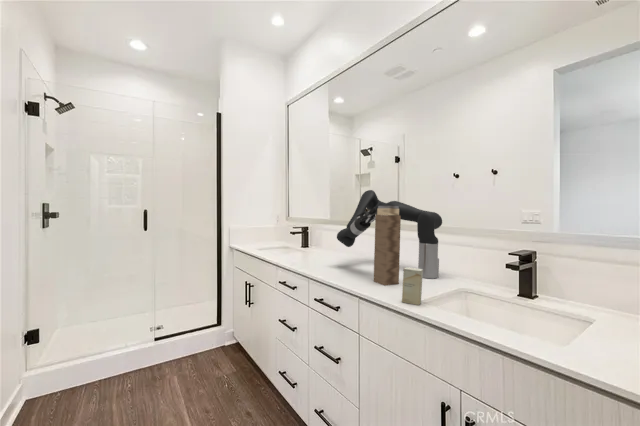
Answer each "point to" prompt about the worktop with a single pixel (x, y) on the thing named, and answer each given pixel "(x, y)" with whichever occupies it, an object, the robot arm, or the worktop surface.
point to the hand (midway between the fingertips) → (378, 209)
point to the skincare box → (412, 285)
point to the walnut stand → (387, 249)
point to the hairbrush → (387, 210)
